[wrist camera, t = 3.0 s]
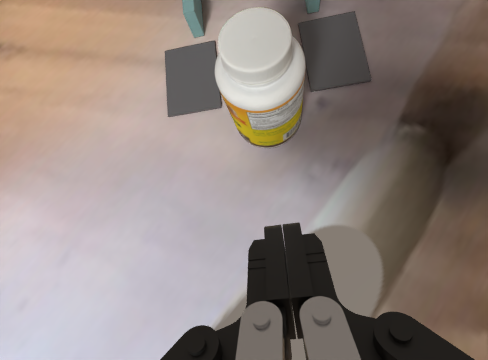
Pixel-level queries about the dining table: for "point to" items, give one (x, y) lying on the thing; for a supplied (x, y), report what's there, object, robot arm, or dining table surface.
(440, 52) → the dining table surface
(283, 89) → the supplement bottle
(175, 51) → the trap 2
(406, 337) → the robot arm
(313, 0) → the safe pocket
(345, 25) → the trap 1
